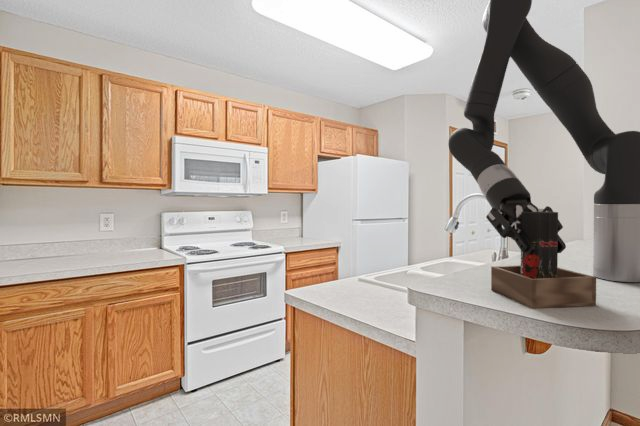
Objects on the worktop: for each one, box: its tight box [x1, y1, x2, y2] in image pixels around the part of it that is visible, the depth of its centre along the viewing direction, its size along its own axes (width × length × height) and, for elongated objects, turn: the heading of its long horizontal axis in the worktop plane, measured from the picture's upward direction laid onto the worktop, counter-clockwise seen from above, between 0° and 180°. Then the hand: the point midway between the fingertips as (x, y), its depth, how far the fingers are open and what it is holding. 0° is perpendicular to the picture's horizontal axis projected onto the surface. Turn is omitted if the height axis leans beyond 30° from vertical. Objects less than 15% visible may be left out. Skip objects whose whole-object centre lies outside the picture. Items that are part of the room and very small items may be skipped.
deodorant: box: [520, 211, 559, 279], centre depth 66 cm, size 6×6×15 cm
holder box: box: [490, 264, 597, 309], centre depth 66 cm, size 12×12×5 cm
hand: (546, 251), depth 64 cm, fingers closed on deodorant, 6 cm apart
